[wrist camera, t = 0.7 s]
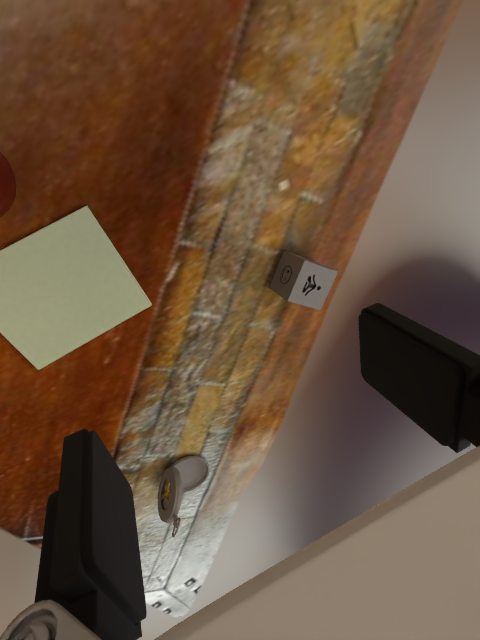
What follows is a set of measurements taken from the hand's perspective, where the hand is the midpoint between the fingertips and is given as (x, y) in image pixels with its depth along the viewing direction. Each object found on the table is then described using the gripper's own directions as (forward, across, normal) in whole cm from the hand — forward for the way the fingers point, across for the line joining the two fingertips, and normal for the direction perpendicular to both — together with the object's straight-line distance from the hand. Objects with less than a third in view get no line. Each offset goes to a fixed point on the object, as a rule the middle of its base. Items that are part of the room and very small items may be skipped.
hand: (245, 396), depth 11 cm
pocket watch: (+28, +7, +34) cm, 45 cm away
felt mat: (+28, +10, +3) cm, 30 cm away
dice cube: (+29, -16, +11) cm, 35 cm away
